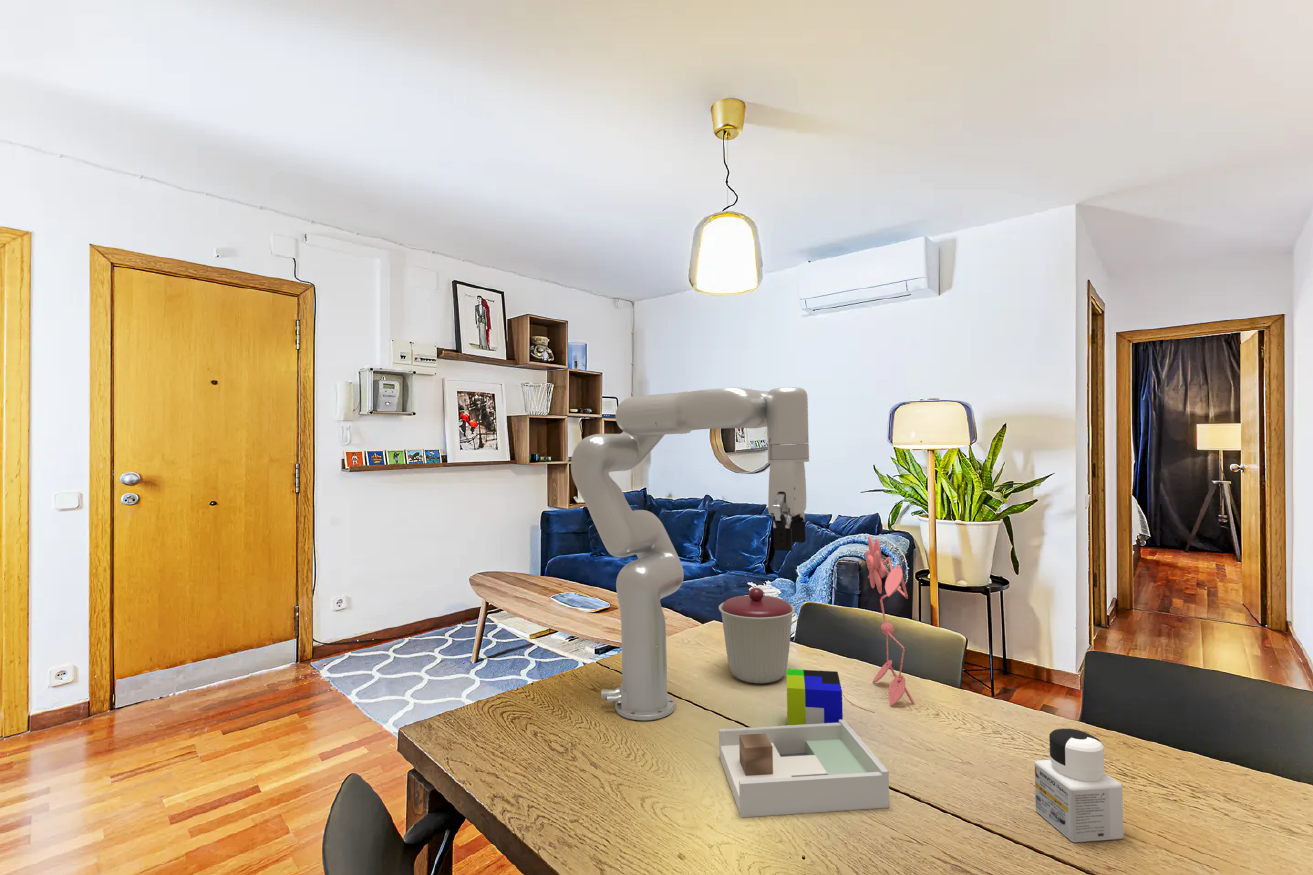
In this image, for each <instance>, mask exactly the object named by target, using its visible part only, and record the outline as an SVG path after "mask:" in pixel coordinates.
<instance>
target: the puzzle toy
mask: <svg viewBox="0 0 1313 875" xmlns="http://www.w3.org/2000/svg"><path fill="white" fill-rule="evenodd" d="M840 681H841V680H840V676H839V672H838V671H834V670H833V671H830V670H818V669H817V670H816V669H815V670H814V669H813V670H812V669H799V668H798V669H797V668H795V669H794V668H787V669H786V709H787V710H786V712H787V713H786V714H787V720H786V721H787V725H804V724H822V723H839V720H844V718H843V717H844V716H843V715H844V714H843V711H844V710H843V694H842V693H843V688H842V686H841V682H840Z"/></svg>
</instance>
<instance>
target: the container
mask: <svg viewBox="0 0 1313 875" xmlns="http://www.w3.org/2000/svg"><path fill="white" fill-rule="evenodd" d="M1104 748H1105V746H1104V744H1103V743H1102V741H1101V740H1100V739H1098V738H1097V737H1096V736H1094V735H1092V734H1090V733H1088V732H1086V731H1082V730H1079V729H1074V728H1057V729H1054V730H1052V731H1051V732H1050V733H1049V759H1040V760H1035V761H1034V794H1035V795H1034V799H1035V800H1034V802H1035V804H1034V805H1035V812H1037V813H1038V814H1039V815H1040V816H1041V817H1042V818H1044V819H1045V821H1047V822H1048V823H1049V824H1051V825H1052V826H1053V827H1055V829H1057V830H1058V831H1059V833H1061V834H1062V835H1063V836H1065V837H1066V838H1067V839H1068V840H1069V841H1071V842H1072V843H1084V842H1085V843H1086V842H1098V841H1099V842H1100V841H1111V840H1121V839H1124V819H1123V818H1124V811H1123V810H1124V809H1123V806H1124V805H1123V803H1124V802H1123V785H1122V783H1121V782H1119V781H1118V780H1116V779H1114V778H1113V777H1111V776H1109V775H1108V774H1107V773H1105V752H1104V751H1105V750H1104Z"/></svg>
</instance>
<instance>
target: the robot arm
mask: <svg viewBox="0 0 1313 875" xmlns="http://www.w3.org/2000/svg"><path fill="white" fill-rule="evenodd" d="M808 405H809V398H808V393H807V391H806V390H805V389H804V388H802V387H794V386H793V387H791V386H790V387H789V386H788V387H786V386H785V387H777V388H772V389H770V390H769V391H765V390H756V389H752V388H744V387H735V386H734V387H722V388H710V389H709V388H708V389H698V390H691V391H678V392H669V393H668V392H666V393H656V394H647V395H646V394H644V395H634V396H631V397H628V398H627V397H626V398H625V399H624V400H622V401H621V402H620V403H619V404H618V405H617V408H616V409H615V422H616V424H617V426H618V427H619V428H620V430H622V432H621V433H595V434H592V435H588V436H586V437H584V438H582V439H581V440H580V441H579V442H578V443H577V445H576V446H575V448H574V450H573V452H572V456H571V461H570V472H571V477H572V481H573V483H574V485H575V487H576V489H577V492H578V493H579V495H580V496H581V498H582V500H583V502H584V504H585V505H586V507H587V508H586V509H587V510H588V511H589V512H588V513H589V514H590V517H591V519H592V521H593V524H594V526H595V528H596V530H597V532H598V534H599V537H600V539H601V541H602V543H603V545H604V548H605V549H606V551H607V552H608V554H609V555H611V556H612V557H615V558H627V557H631V556H634V555H636V557H637V559H634V560H632V561H629V562H628V563H627V564H625V565H624V566H623V567H622V568H621V569H620V571H619V572H618V574H617V577H616V582H615V588H616V589H615V590H616V594H617V596H616V597H617V599H618V605H619V612H620V625H621V626H620V632H621V635H620V636H621V674H622V676H621V677H622V678H621V679H622V680H621V681H622V682H621V683H620V687H617V686H616V687H615V689H607V688H606V689H605V688H604V689H601V695H600V696H601V700H606V703H615V712H616V713H617V714H618V715H619V716H621V717H622V718H626V719H628V720H633V721H654V720H659V719H662V718H665V717H667V716H670V714H672V713H673V712H674V710H675V707H676V706H675V705H676V702H675V700H674V699H673V698H672V697H671V696H670V695H668V672H667V671H668V670H667V669H668V668H667V667H668V665H667V664H668V663H667V662H668V661H667V658H668V657H667V623H666V618H665V613H664V610H663V607H662V604H661V599H663V598H666V597H668V596H670V595H672V594H674V593H675V592H677V591H678V590H679V589H680V588H681V586H682V584H683V581H684V575H685V574H684V567H683V565H682V562H681V559H680V557H679V556H678V553H677V551H676V549H675V547H674V544H673V543H672V541H671V538H670V535H669V534H668V532H667V530H666V528H665V526H664V524H663V522H662V521H661V519H659V518H658V516H657V515H656V514H654V513H653V512H651V511H649V510H646V509H645V510H644V509H636V510H633V509H632V508H631V506H630V504H629V502H628V501H627V499H626V497H625V494H624V492H623V490H622V489H621V487H620V486H619V485H618V484H617V483H616V481H615V480H613V478H612V477H611V476H610V472H623V471H629V470H632V469H634V468H635V467H638V466H639V465H640V463H642V462H643V461H644V459H646V457H647V456H648V455H649V454H650V453H651V451H652V450H653V449H655V447H656V446H657V445H658V444H659V443H660V441H661V440H662V439H663V438H664V436H665V435H677V434H678V435H681V434H690V433H691V432H692V431H696V430H697V431H698V430H711V429H712V430H713V429H714V430H716V429H759V428H766V431H767V432H766V433H767V463H770V464H769V465H770V466H769V474H768V498H767V499H768V504H767V506H768V507H767V509H768V510H767V511H768V515H769V516H771V517H772V519H773V523H772V528H773V549H774V551H782V552H783V551H784V552H791V551H792V550H793V543H802V544H804V543H806V540H807V539H806V536H807V535H806V514H805V511H806V509H807V484H806V483H807V481H806V480H807V479H806V468H805V467H806V466H805V463H807V462H810V450H809V449H810V444H809V442H810V441H809V406H808Z"/></svg>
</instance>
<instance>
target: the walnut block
mask: <svg viewBox="0 0 1313 875" xmlns="http://www.w3.org/2000/svg"><path fill="white" fill-rule="evenodd" d="M739 750H740V764H741V766H742V768H743V771H744V773H745V776H752V775H768V774H773V746H772V744H771V743H770V741H769V739H768V737H767V735H766V733H764V734H746V735H739Z"/></svg>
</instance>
